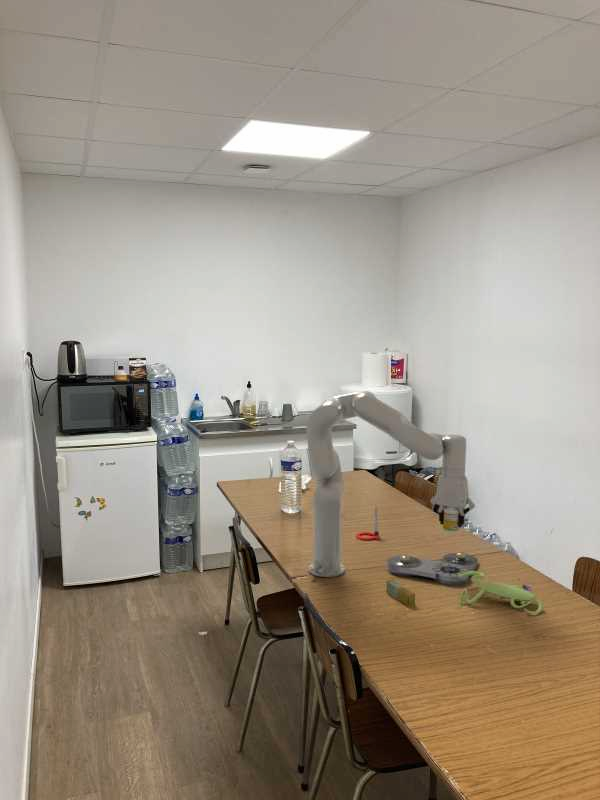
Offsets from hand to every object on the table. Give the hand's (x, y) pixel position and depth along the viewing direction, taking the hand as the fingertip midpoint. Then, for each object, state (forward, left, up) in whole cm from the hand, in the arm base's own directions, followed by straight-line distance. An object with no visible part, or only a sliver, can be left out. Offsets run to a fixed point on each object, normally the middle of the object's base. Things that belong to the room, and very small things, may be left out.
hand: (451, 524), depth 224 cm
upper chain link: (0, +8, -19) cm, 21 cm away
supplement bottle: (0, 0, -2) cm, 2 cm away
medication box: (-23, +10, -19) cm, 32 cm away
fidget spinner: (+8, 0, -19) cm, 21 cm away
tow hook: (+27, +40, -19) cm, 52 cm away
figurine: (-10, -17, -20) cm, 28 cm away
